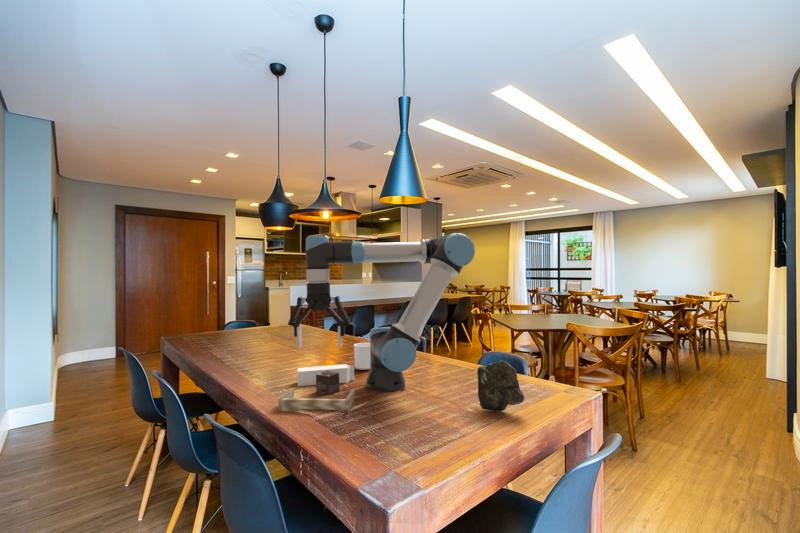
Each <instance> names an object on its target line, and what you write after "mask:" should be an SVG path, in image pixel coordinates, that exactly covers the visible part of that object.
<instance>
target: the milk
mask: <svg viewBox="0 0 800 533" xmlns="http://www.w3.org/2000/svg"><path fill="white" fill-rule="evenodd" d="M325 371H332V372H337V373H339V384H348V383H350V381H355V365H352V364H351V365H349V364H346V363H343V364H333V365H332V364H329V365H320V366H319V365H317V366H306V367H297V387H301V386H316V374H319V373H322V372H325Z"/></svg>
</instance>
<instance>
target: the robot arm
mask: <svg viewBox="0 0 800 533" xmlns="http://www.w3.org/2000/svg"><path fill="white" fill-rule="evenodd" d="M329 238H330V237H329V236H328V235H320V234H319V235H318V234H317V235H315V234H313V235H308V236H307V237H306V238H305V265H306V266H305V267H306V269H305V270H306V271H305V272H306V274H305V275H306V282H307V284H306V297H303V296H299V297H297V298H296V305H295V307H294V310H293V312H292V313H291V316H290V318H289V320H288V322H287V325H288V326H291V327H292V328H293V333H294V334H293V335H294V336H293V337H296V342H297V348H301V347H302V346H303V331H302V325H301V324H302V322H303V321H304V320H305V318H306V317H307V316H308V315H309V314H310V312H311V311H326V312H327V313H328V314H329V315H330V316H331V317H332V318H333V320H334V321H335V322H336V323H337V325H338V326H337V346H338V348H341V347H342V346H343V337H344V336H345V335H346V326H347V325H349V324H350V323H351V320H350V318H349V316H348V314H347V312H346V311H345V308H344V307H343V304H342V302H341V297H340V296H339V295H337V296H331V283H330V282H329V281H330V280H331V279H330V278H331V277H330V265H331V264H332V265H335V264H339V265H347V264H354V265H356V264H371V263H372V264H374V263H400V262H401V263H402V262H405V263H408V262H419V263H421V264H427V265H428V264H429V265H431V266H430V268H429V269H428V271H427V272H426V274H425V276H424V278H423V280H422V282H420V284H419V286H418V288H417V290H416V292H414V295H413V296H412V298H411V300H410V302H409V303H408V305H407V307H406V309H405V310H404V312H403V314H402V316H400V319H399V320H398V322H397V323H393V324H391V326H382V327H373V328H371V329H370V333H369V343H370V369H368V370H369V371H368V373H367V377H366V380H365V387H366V388H367V389H368V390H371V391H376V392H388V393H391V392H392V393H393V392H397V391H403V390H404V389H406V379H405V376H404V372H405V371H406V370H408V369H409V368H411V367H412V366H413V365H414V363H415V361H416V359H417V348H418V346H419V345H420V343H421V339H420V334H421V333H422V331H423V330H424V329H423V328H425V326H426V325H427V322H428V321H429V319H430V317H431V315H432V313H433V311H434V309H435V308H436V307H437V304H438V303H439V301H440V300H441V297H442V296H443V293H444V292H445V291H446V289H447V287H448V285H449V284H450V282H451V280H452V279H453V278H454V277H457V276H459V274H460V273H461V272H462V270H463V268H464V266H467V265H469V264H470V263H471V262H472V261H473V259H474V257H475V254H476V248H475V244H474V242H473V240H472V239H471V237H469V236H468V235H466V234H464V233H458V232H454V233H451V234H446V235H440V236H438V237H434V238H428V239H427V238H425V239H420V240H419V241H405V242H400V241H399V242H363V241H358V240H357V241H356V240H351V241H349V240H348V241H331V240H330V239H329ZM305 302H306V303H307V307H306V308H305V309H304V311H303V312H302V314H301V315H300V316H299V313H300V311H301V308H302V306H303V304H305ZM331 302H332V303H333V304H334V305H335V306H336V308H337V310H338V312H339V314H340V315H338V312H336V310H334V308H333V307H332V306H331V304H330V303H331ZM298 316H299V317H298ZM340 316H341V317H340Z"/></svg>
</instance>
